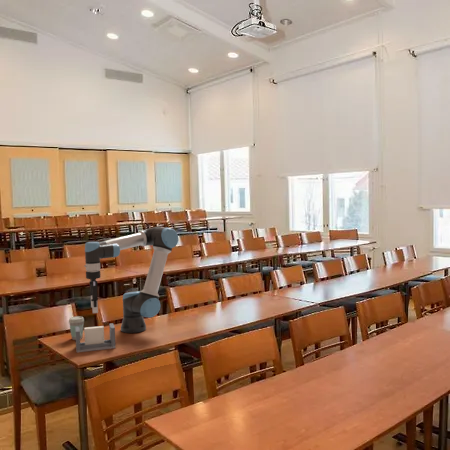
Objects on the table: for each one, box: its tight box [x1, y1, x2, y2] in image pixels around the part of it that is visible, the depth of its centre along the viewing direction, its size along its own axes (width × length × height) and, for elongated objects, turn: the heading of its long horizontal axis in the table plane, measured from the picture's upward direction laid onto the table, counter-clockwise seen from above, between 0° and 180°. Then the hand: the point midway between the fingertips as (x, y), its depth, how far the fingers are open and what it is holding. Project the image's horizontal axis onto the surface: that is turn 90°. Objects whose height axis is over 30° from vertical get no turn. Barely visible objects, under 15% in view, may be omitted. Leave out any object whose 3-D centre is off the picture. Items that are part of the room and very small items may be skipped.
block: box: [83, 325, 105, 345], centre depth 260 cm, size 10×3×10 cm, turn 108°
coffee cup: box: [68, 315, 85, 341], centre depth 277 cm, size 9×9×12 cm
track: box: [75, 323, 116, 353], centre depth 260 cm, size 20×10×11 cm, turn 109°
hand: (94, 310), depth 259 cm, fingers open, 13 cm apart
